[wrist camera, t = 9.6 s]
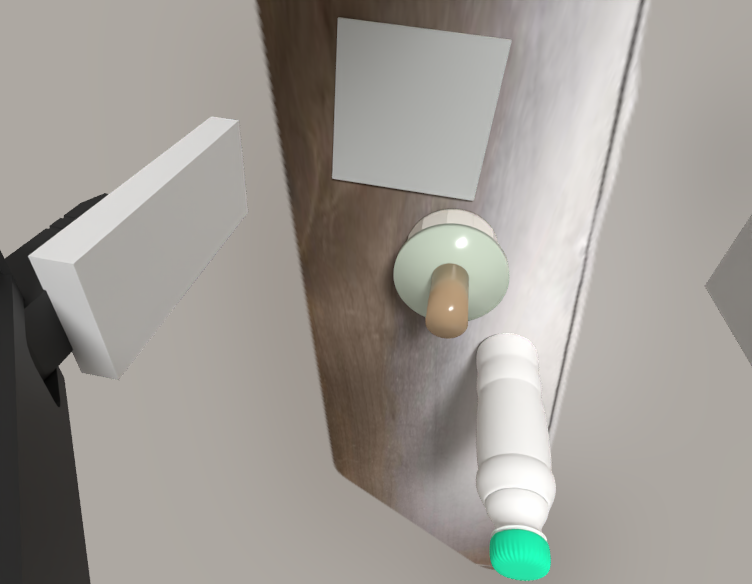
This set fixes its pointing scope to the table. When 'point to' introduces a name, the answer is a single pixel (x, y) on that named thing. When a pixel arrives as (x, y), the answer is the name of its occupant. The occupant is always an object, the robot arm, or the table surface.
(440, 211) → the bowl
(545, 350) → the table surface
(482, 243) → the lid
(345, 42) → the mat
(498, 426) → the water bottle
